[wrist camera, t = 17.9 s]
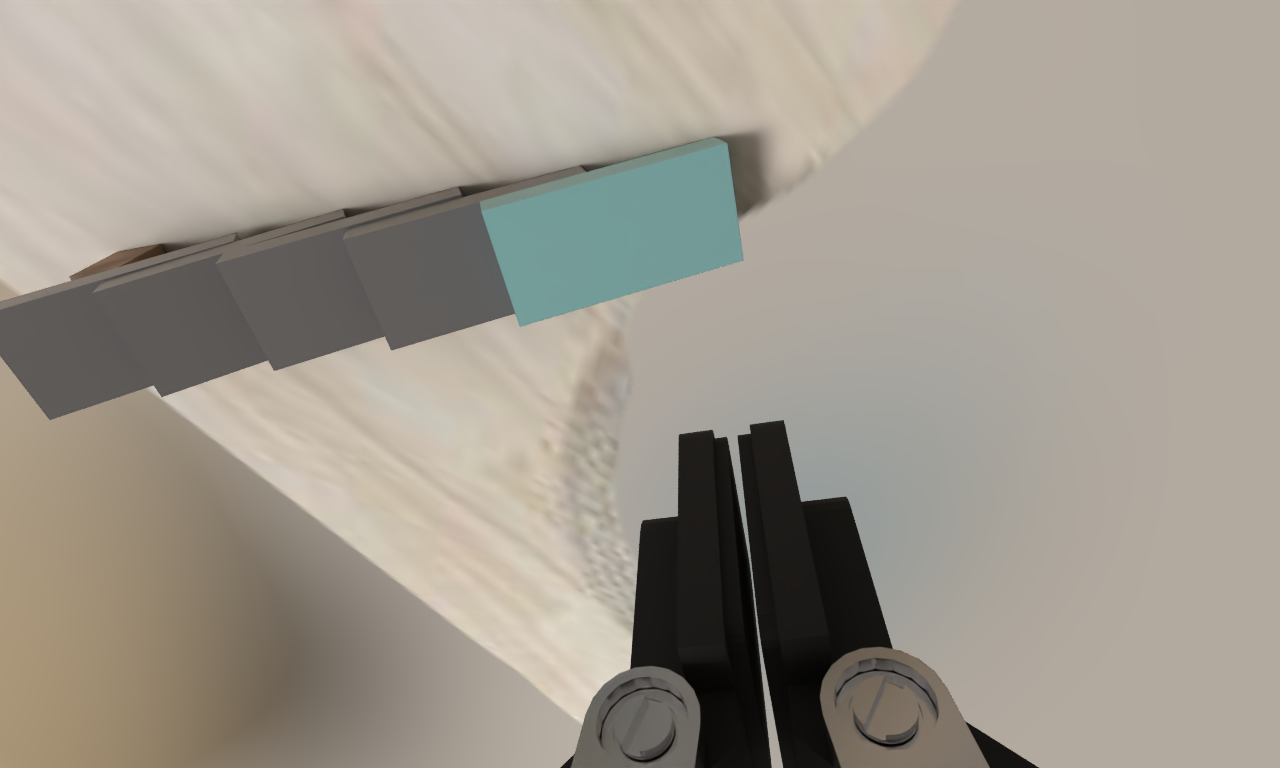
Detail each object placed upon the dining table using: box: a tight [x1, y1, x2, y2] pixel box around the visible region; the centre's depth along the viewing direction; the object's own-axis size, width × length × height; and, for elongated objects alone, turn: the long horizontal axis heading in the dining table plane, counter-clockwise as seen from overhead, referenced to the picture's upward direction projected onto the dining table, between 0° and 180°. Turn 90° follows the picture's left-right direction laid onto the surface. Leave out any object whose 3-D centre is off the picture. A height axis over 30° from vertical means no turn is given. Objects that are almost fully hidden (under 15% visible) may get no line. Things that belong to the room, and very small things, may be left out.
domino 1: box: [0, 233, 240, 420], centre depth 31 cm, size 2×5×10 cm
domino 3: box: [215, 187, 462, 371], centre depth 30 cm, size 2×5×10 cm
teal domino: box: [480, 137, 743, 327], centre depth 29 cm, size 2×5×10 cm
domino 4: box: [343, 166, 586, 350], centre depth 29 cm, size 2×5×10 cm
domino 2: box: [92, 209, 347, 397], centre depth 31 cm, size 2×5×10 cm
